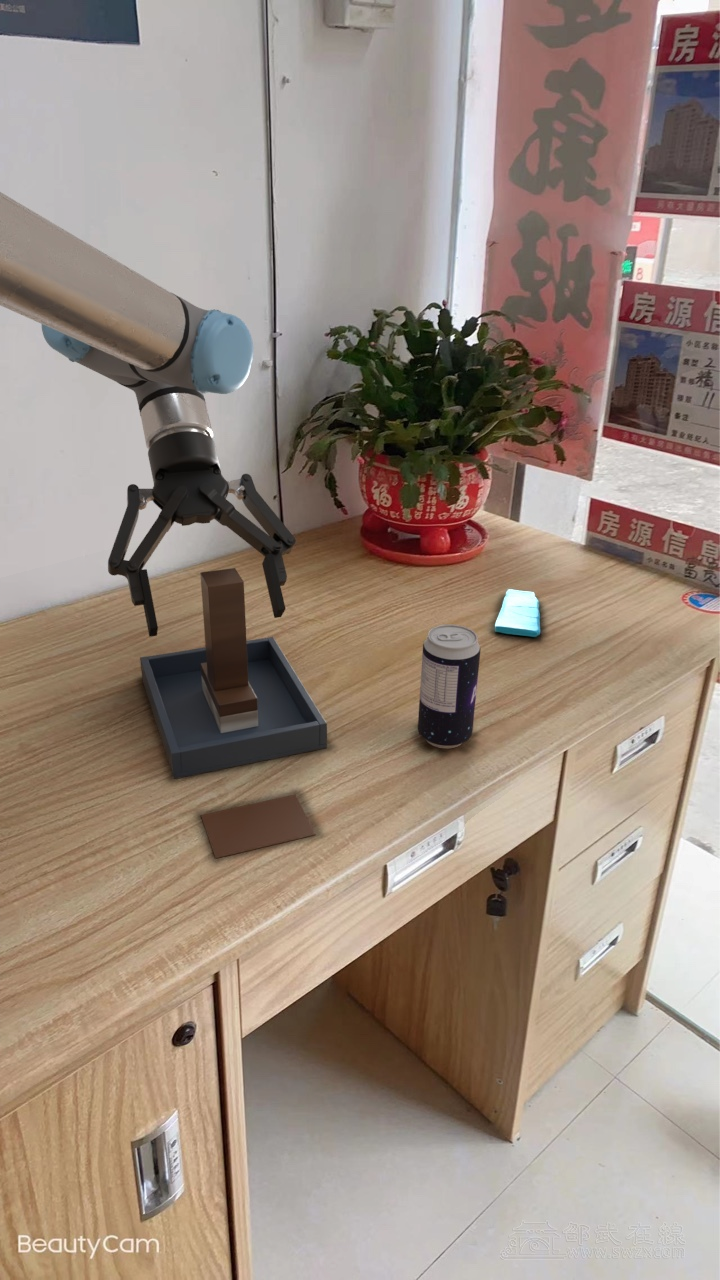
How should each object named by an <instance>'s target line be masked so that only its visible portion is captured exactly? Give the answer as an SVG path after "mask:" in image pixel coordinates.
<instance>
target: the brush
mask: <svg viewBox="0 0 720 1280" xmlns="http://www.w3.org/2000/svg"><path fill="white" fill-rule="evenodd" d="M199 575H200V586H201V602H202V603H201V604H202V615H203V630H204V643H205V647H206V659H207V662H206V663H201V675H202V676H201V677H202V690H203V693H204V695H205V697H206V700H207V702H208V704H209V707H210V709H211V711H212V714H213V716H214V718H215V721H216V723H217V725H218V728H219V730H220V732H221V733H225V732H231V731H236V730H241V729H247V728H252V727H257V726H258V707H257V697H256V695H255V693H254V691H253V689H252V688H251V686H250V684H249V682H248V663H247V641H248V640H247V623H246V621H247V619H246V601H245V581H244V580H243V578H242V577H241V575H240V574H239V572H238V570H237V569H236V567H231V568H224V569H216V570H209V571H201V572H200V574H199Z"/></svg>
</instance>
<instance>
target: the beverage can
mask: <svg viewBox="0 0 720 1280" xmlns="http://www.w3.org/2000/svg"><path fill="white" fill-rule="evenodd" d="M421 654H422V655H421V667H420V668H421V671H420V686H419V701H418V702H419V703H418V717H417V718H418V719H417V732H418V734H419V736H421V737H422V738H423V739H424V740H425V741H426V742H427V743H428V744H429V745H431V746H433V747H435V748H439V749H454V748H457V747H460V746H461V745H462V744H464V743H466V742H467V741H469V739H471V737H472V736H473V731H474V721H475V720H474V719H475V711H476V702H477V701H476V699H477V689H478V680H479V669H480V661H481V660H480V659H481V646H480V644H479V642H478V634H477V633H476V632H475V631H474V630H473V629H471V628H469V627H468V626H467V627H466V626H464V625H458V624H439V625H435V626H434V627H432V628H431V629H429V631H428V632H427V637H426V639H425V640H424V641H423V643H422V653H421Z"/></svg>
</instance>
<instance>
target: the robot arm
mask: <svg viewBox="0 0 720 1280" xmlns="http://www.w3.org/2000/svg"><path fill="white" fill-rule="evenodd" d="M0 306H1V307H3V308H5V309H7V310H10V311H12V312H14V313H16V314H18V315H20V316H24V317H25V318H28V319H30V320H32V321H33V322H37V323H39V324H41V332H42V336H43V338H44V340H45V341H46V343H47V345H48V346H49V347H50V348H51V349H53V350H54V351H56V352H57V353H59V354H61V355H62V356H64V357H66V358H67V359H68V360H69V361H70V362H71V363H77V364H79V365H81V366H83V367H85V368H86V369H89V370H91V371H93V372H96V373H97V374H100V375H102V376H104V377H106V378H108V379H109V380H112V381H114V382H116V383H117V384H119V385H120V386H123V387H125V388H127V389H129V390H131V391H133V392H134V394H135V397H136V401H137V405H138V410H139V416H140V419H141V425H142V431H143V435H144V441H145V446H146V448H147V457H148V461H149V467H150V472H151V476H152V477H151V478H152V482H153V486H152V488H140V487H139V486H138V485H137V484H134V483H131V484H129V485H128V486H127V488H126V489H127V490H126V493H127V494H126V508H125V512H124V515H123V517H122V520H121V522H120V525H119V528H118V530H117V534H116V537H115V539H114V542H113V545H112V548H111V551H110V554H109V556H108V560H107V571H108V574H109V575H111V576H123V577H124V578H125V579H127V583H128V588H129V593H130V600H131V603H132V605H133V606H134V607H136V606H137V607H138V606H142V607H143V610H144V616H145V622H146V626H147V632H148V637H149V638H151V637H157V636H158V629H159V626H158V620H157V615H156V610H155V606H154V600H153V595H152V589H151V584H150V578H149V573H148V569H147V568H144V567H145V565H146V564H147V563H148V561H149V559H150V558H151V557H152V555H153V554H154V552H155V550H156V549H157V547H158V546H159V545H160V543H161V542H162V540H163V539H164V537H165V536H166V534H167V533H168V532H169V531H170V529H172V526H173V525H174V523H176V524H179V525H181V526H182V527H186V526H190V525H194V524H202V525H203V524H210V523H211V521H213V520H215V521H216V522H218V523H219V524H220V525H221V526H223V527H226V528H228V529H229V530H230V531H232V532H233V533H234V534H235V535H237V536H238V537H239V538H241V539H242V540H243V541H245V542H246V543H247V544H248V545H250V546H251V547H252V548H253V549H255V551H257V552H258V553H260V554H261V555H262V556H263V557H264V558H263V561H262V563H261V565H262V569H263V575H264V577H265V578H264V579H265V582H266V587H267V590H268V595H269V601H270V605H271V609H272V613H273V618H274V619H277V618H278V619H279V618H282V616H283V614H284V613H285V611H286V603H285V600H284V596H283V591H282V587H283V586H285V584H286V583H287V579H288V574H287V570H286V565H285V561H284V558H283V556H284V555H289V554H290V553H292V551H293V549H294V547H295V544H296V542H297V539H296V537H295V536H294V535H293V534H292V532H291V531H290V530H289V528H288V527H286V525H285V524H284V523H283V522H282V520H281V519H280V518H279V516H278V515H277V514H276V512H274V510H273V509H272V508H271V507H270V506H269V504H268V503H267V502H266V500H264V498H263V496H261V494H260V493H259V492H258V490H257V489H256V486H255V483H254V481H253V478H252V475H250V474H249V473H243V474H242V475H241V476H240V478H238V479H232V480H229V481H227V479H226V478H225V477H224V475H223V473H222V469H221V465H220V459H219V456H218V451H217V445H216V442H215V441H214V439H213V438H214V432H213V429H212V424H211V420H210V415H209V411H208V407H207V402H206V399H205V396H204V395H205V394H208V393H210V394H219V395H228V394H231V393H233V392H236V391H237V390H239V389H240V388H241V387H242V386H243V385H244V383H245V382H246V381H247V379H248V377H249V375H250V373H251V368H252V363H253V361H254V342H253V338H252V335H251V331H250V330H249V328H248V326H247V325H246V323H245V322H244V321H243V320H242V319H241V318H239V317H238V316H236V315H234V314H231V313H226V312H223V311H221V310H219V309H210V310H209V309H208V310H207V309H204V308H202V307H199V306H196V305H195V304H193V303H191V302H190V301H187V300H186V299H185V298H182V297H181V296H179V295H177V294H174V293H173V292H170V291H169V290H167V288H165V287H162V286H161V285H159V284H157V283H156V282H154V281H152V280H151V279H149V278H148V277H145V276H144V275H142V274H140V273H139V272H137V271H136V270H133V269H131V268H130V267H129V266H126V265H125V264H123V263H122V262H120V261H119V260H117V259H115V258H113V257H112V256H110V255H108V254H107V253H104V251H101V250H100V249H98V248H97V247H95V246H92V245H91V244H89V243H88V242H86V241H84V240H83V239H81V238H79V237H78V236H76V235H75V234H72V233H71V232H69V231H68V230H66V229H64V228H63V227H61V226H60V225H57V224H56V223H54V222H52V221H50V220H49V219H47V218H45V217H43V216H42V215H40V214H39V213H37V212H35V211H33V210H31V209H30V208H29V207H27V206H25V205H23V204H22V203H20V202H18V201H16V200H14V199H13V198H11V197H10V196H9V195H6V194H5V193H3V192H1V191H0ZM229 494H232V495H234V496H235V498H236V499H237V500H242V502H243V504H244V506H245V508H246V509H247V511H249V513H250V514H251V515H252V517H254V519H255V520H256V521H257V523H258V524H259V525H260V526H261V527H262V529H261V528H260V527H259V526H257V525H256V524H255V523H254V522H252V521H251V520H250V519H248V518H247V517H246V516H245V515H244V514H243V513H241V512H240V511H239V510H237V509H236V507H235V506H234V504H233V503H232V502H230V501H229V500H227V497H228V496H229ZM151 501H152V502H153V504H154V505H155V506H157V507H158V508H159V509H160V510H161V511H160V512H159V514H158V516H157V518H156V519H155V521H154V523H153V524H152V526H151V527H150V528H149V530H148V531H147V533H146V535H144V537H143V538H142V541H141V542H140V543H139V545H138V546H137V548H136V549H135V551H134V552H133V554H132V555H131V556H130V558H129V559H128V560H126V559H125V557H126V555H127V551H128V548H129V547H130V546H129V545H130V543H131V539H132V537H133V534H134V531H135V528H136V526H137V522H138V520H139V514H140V511H141V510H144V509H146V508H147V504H148V503H149V502H151ZM143 568H144V569H143Z"/></svg>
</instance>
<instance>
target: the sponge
mask: <svg viewBox="0 0 720 1280" xmlns="http://www.w3.org/2000/svg"><path fill="white" fill-rule="evenodd" d="M535 593H536V592H534V591H530V590H529V591H528V590H518V589H512V588H509V589H507V590H506V592H505V596H504V598H503V600H502V604H501V608H500V610H499V613H498V615H497V618H496V620H495V623H494V632H496V633H501V634H505V635H514V636H525V637H530V638H537V637H538V636H540V634H541V622H540V620H541V614H540V601H539V599H538V598H537V597H536V594H535Z"/></svg>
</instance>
